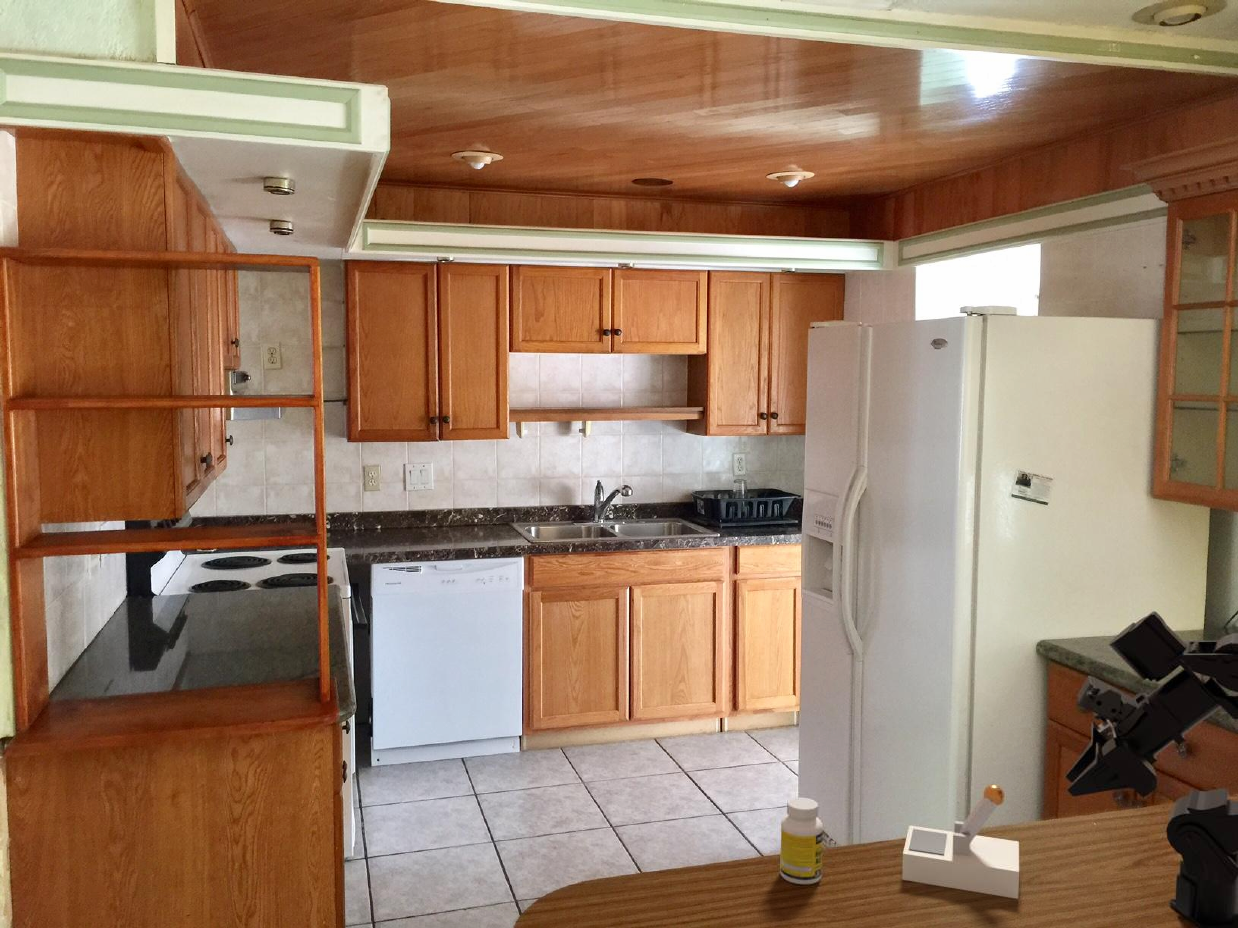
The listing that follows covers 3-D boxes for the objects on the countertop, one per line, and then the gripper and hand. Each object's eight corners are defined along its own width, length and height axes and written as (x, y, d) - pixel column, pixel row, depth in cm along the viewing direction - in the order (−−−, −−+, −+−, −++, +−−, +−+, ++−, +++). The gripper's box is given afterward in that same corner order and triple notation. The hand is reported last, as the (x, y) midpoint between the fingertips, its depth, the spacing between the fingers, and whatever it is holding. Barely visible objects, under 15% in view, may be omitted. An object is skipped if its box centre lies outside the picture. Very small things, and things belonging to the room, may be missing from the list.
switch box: (1017, 866, 137) (1019, 823, 136) (1018, 898, 129) (1019, 852, 128) (908, 849, 142) (909, 807, 141) (902, 879, 134) (903, 834, 133)
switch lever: (968, 845, 136) (1008, 789, 134) (967, 853, 133) (1008, 797, 131) (950, 833, 137) (990, 777, 134) (949, 841, 134) (990, 785, 132)
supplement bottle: (822, 887, 131) (823, 813, 131) (779, 883, 133) (780, 809, 132) (822, 867, 137) (823, 796, 136) (781, 864, 138) (781, 793, 137)
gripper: (1114, 641, 135) (1021, 714, 140) (1129, 680, 118) (1022, 761, 123) (1179, 706, 133) (1082, 778, 138) (1204, 756, 116) (1092, 836, 120)
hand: (1069, 785), depth 130 cm, fingers open, 4 cm apart
